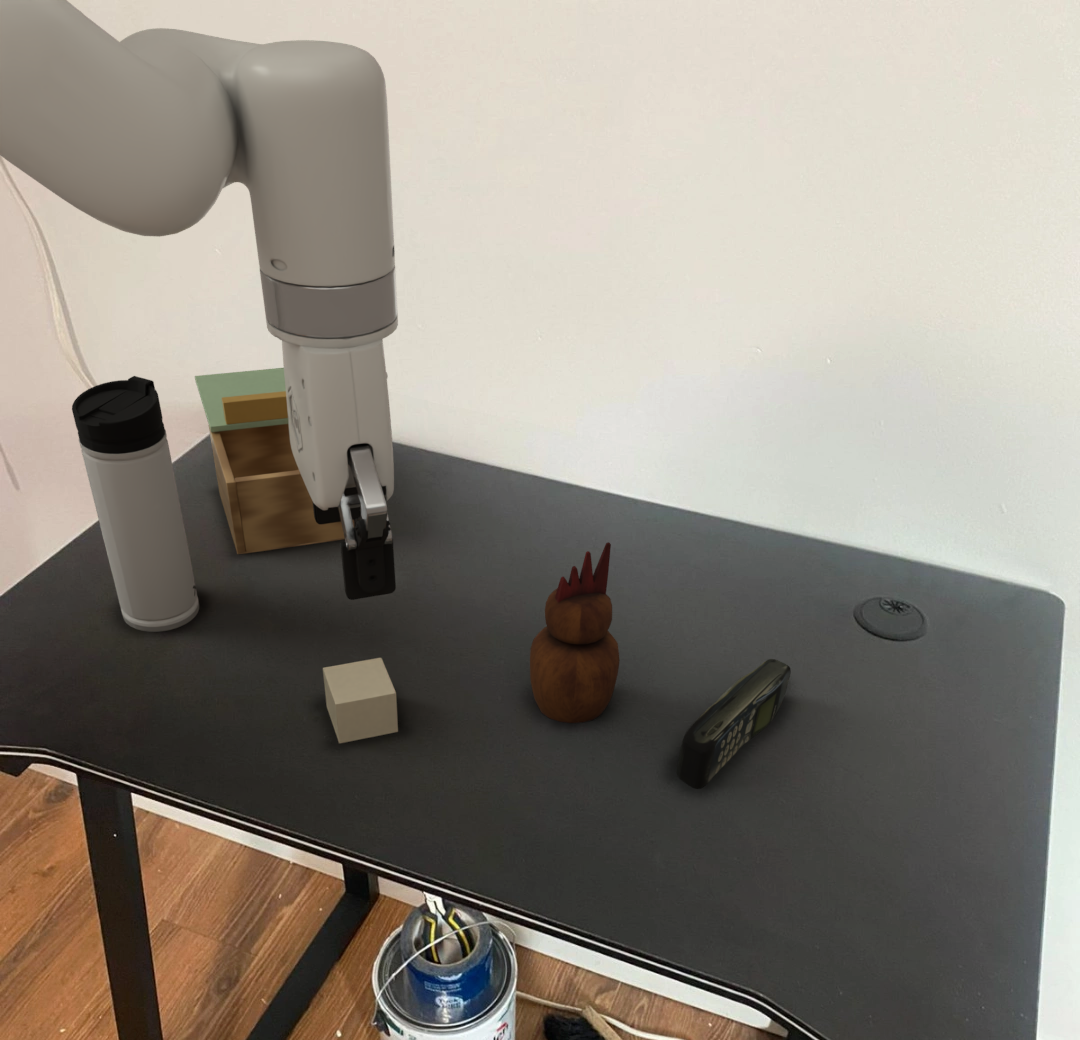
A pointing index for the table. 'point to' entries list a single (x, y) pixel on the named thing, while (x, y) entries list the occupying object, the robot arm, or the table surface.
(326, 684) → the cream block
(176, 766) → the table surface
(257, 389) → the slide door
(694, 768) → the mobile phone
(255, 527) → the oak box
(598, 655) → the wooden figurine
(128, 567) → the travel mug
